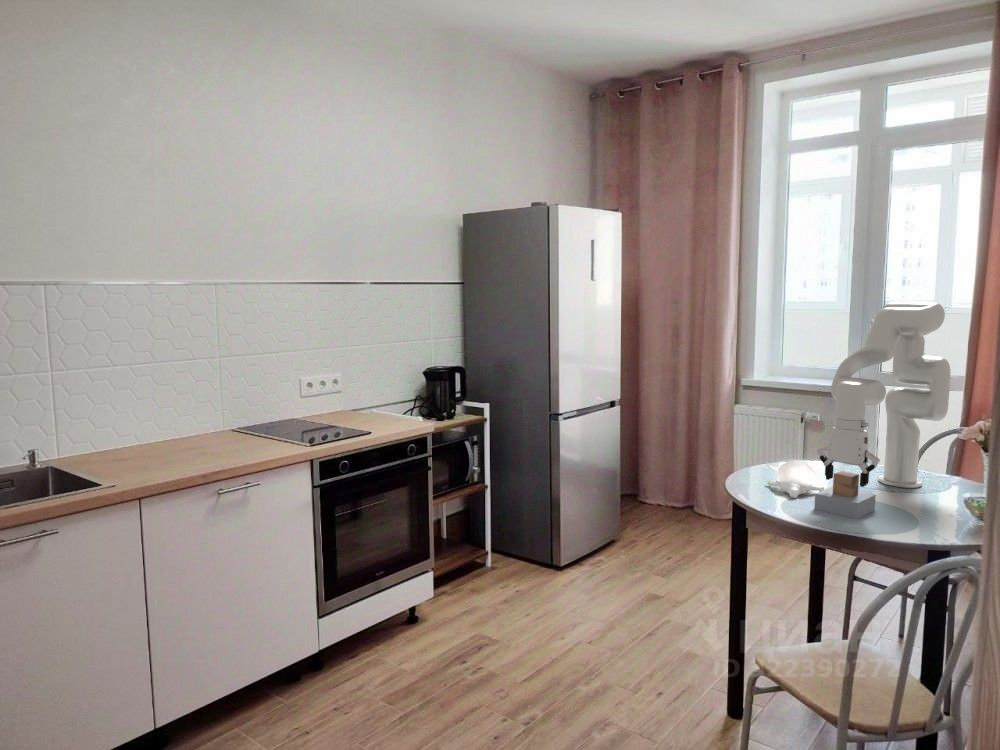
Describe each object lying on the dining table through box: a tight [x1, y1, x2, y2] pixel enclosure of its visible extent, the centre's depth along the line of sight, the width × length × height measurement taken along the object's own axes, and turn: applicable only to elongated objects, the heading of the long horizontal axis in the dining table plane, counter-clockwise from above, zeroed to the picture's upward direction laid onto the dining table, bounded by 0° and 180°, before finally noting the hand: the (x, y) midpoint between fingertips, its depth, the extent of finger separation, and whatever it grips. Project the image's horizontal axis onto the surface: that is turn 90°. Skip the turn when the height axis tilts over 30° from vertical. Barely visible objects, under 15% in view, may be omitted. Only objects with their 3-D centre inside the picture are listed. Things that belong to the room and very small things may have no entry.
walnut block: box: [832, 470, 860, 498], centre depth 202 cm, size 5×5×6 cm
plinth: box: [813, 485, 877, 520], centre depth 203 cm, size 12×12×5 cm
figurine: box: [766, 459, 825, 499], centre depth 224 cm, size 17×9×25 cm
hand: (846, 482), depth 202 cm, fingers open, 9 cm apart
